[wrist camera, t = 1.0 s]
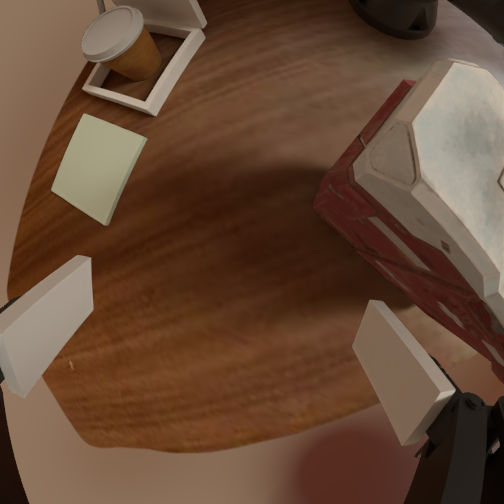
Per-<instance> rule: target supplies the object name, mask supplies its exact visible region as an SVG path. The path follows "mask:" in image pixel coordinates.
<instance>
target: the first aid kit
mask: <svg viewBox="0 0 504 504" xmlns="http://www.w3.org/2000/svg"><path fill="white" fill-rule="evenodd" d="M313 209H314V210H315V211H316V212H317V213H318V214H319V215H320V216H321V217H322V218H323V219H324V220H325V221H326V222H327V223H328V224H329V225H331V226H332V227H333V228H334V229H335V230H336V231H337V232H339V233H340V234H341V235H342V236H343V237H344V238H345V239H347V240H348V241H349V242H350V243H351V244H352V245H353V246H354V247H355V249H354V250H355V251H356V252H357V253H358V254H360V255H361V256H362V257H363V258H364V259H365V260H366V261H367V262H368V263H369V264H370V265H372V266H373V267H374V268H375V269H376V270H377V271H378V272H379V273H380V274H381V275H382V276H383V277H384V278H385V279H386V280H388V281H389V282H391V283H393V284H394V285H396V286H397V287H398V288H399V289H400V290H401V291H402V292H403V293H404V294H405V295H406V296H407V297H408V298H409V299H410V300H411V301H412V302H413V303H414V304H415V305H416V306H418V307H419V308H420V309H421V310H422V311H423V312H424V313H426V314H427V315H428V316H429V317H431V318H432V319H434V320H435V321H436V322H438V323H439V324H441V325H442V326H443V327H445V328H446V329H448V330H449V331H450V332H452V333H453V334H454V335H456V336H457V337H459V338H460V339H461V340H463V341H464V342H465V343H467V344H468V345H469V346H471V347H472V348H473V349H475V350H476V351H477V352H479V353H480V354H482V355H483V356H484V357H485V358H487V359H488V360H489V361H491V363H492V371H493V372H494V374H495V375H496V376H497V377H498V379H499V380H500V381H501V382H502V383H503V384H504V88H503V87H502V86H501V85H500V84H499V83H498V82H497V80H496V79H495V78H494V77H493V76H492V75H491V74H490V73H489V72H488V71H487V70H484V69H481V68H480V67H479V66H478V65H476V64H474V63H470V62H466V61H462V60H457V59H452V58H444V59H442V60H436V61H435V62H434V63H433V64H432V65H431V67H430V68H429V69H428V70H427V71H426V72H425V73H424V75H423V76H422V77H421V78H420V79H419V80H418V81H417V82H416V81H411V80H404V79H403V81H402V82H401V83H400V84H399V86H398V87H397V88H396V89H395V91H394V92H393V93H392V94H391V95H390V97H389V98H388V99H387V100H386V102H385V103H384V104H383V105H382V107H381V108H380V109H379V110H378V111H377V113H376V114H375V115H374V116H373V118H372V119H371V120H370V121H369V123H368V124H367V125H366V126H365V127H364V129H363V130H362V131H361V132H360V134H359V135H358V136H357V137H356V138H355V140H354V141H353V142H352V143H351V145H350V146H349V147H348V148H347V149H346V151H345V152H344V153H343V154H342V156H341V157H340V158H339V159H338V160H337V162H336V163H335V164H334V165H333V166H332V168H331V169H330V170H329V171H328V173H327V174H326V175H325V177H324V178H323V179H322V181H321V182H320V190H319V192H318V193H317V195H316V196H315V200H314V201H313Z"/></svg>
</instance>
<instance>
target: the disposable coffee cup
mask: <svg viewBox="0 0 504 504" xmlns="http://www.w3.org/2000/svg"><path fill="white" fill-rule="evenodd" d="M81 48H82V51H83V54H84V56H85V58H86V59H87V60H88V61H91V62H99V63H101V64H102V65H104V66H107V67H108V68H110V69H112V70H114V71H116V72H119V73H120V74H122V75H124V76H126V77H128V78H130V79H131V80H133V81H142V80H145V79H148V78H149V77H151V76H152V75H153V74H155V72H156V71H157V70H158V69H159V67H160V65H161V62H162V56H161V54H160V52H159V50H158V48H157V47H156V45H155V43H154V41H153V39H152V37H151V35H150V34H149V32H148V30H147V28H146V26H145V24H144V22H143V15H142V13H141V12H140V11H139V10H138V9H136V8H132V7H130V6H125V5H123V6H117V7H114V8H111V9H110V10H107V11H105V12H104V13H102V14H101V15H100V16H98V17H97V18H96V19H95V20H94V21H93V22H92V23H91V24H90V26H89V27H88V28H87V30H86V31H85V33H84V35H83V37H82V41H81Z"/></svg>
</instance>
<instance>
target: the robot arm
mask: <svg viewBox="0 0 504 504" xmlns="http://www.w3.org/2000/svg"><path fill="white" fill-rule="evenodd" d="M447 1H449V2H450V3H452V4H453V5H454V6H456V7H457V8H458V9H460V10H461V11H462V12H464V13H465V14H466V15H468V16H469V17H470V18H471V19H473V20H474V21H475V22H476V23H478V24H479V25H480V26H481V27H482V28H484V29H485V30H486V31H487V32H488V33H489V34H490V35H492V36H493V39H494V40H495V41H496V42H497V43H499V44H501V45H502V46H503V47H504V0H447ZM350 3H351V5H352V7H353V9H354V10H355V11H356V13H357V14H358V15H359V16H360V17H361V18H362V19H363V20H365V21H366V22H367V23H369V24H370V25H372V26H373V27H375V28H376V29H378V30H380V31H382V32H384V33H386V34H389V35H392V36H395V37H398V38H402V39H410V40H416V39H421V38H424V37H426V36H427V35H429V33H430V32H431V31H432V29H433V28H434V26H435V24H436V18H437V7H438V0H350ZM93 310H94V309H93V295H92V276H91V257H86V256H81V255H77V256H75V257H74V258H72V259H71V260H70V261H68V262H67V263H65V264H64V265H63V266H61V267H60V268H58V269H57V270H56V271H54V272H53V273H52V274H50V275H49V276H48V277H46V278H45V279H44V280H42V281H41V282H40V283H38V284H37V285H36V286H34V287H33V288H32V289H31V290H29V291H28V292H27V293H25V294H24V295H21V296H19V297H16V298H14V299H12V300H10V301H9V302H8V303H7V304H6V305H4V307H2V308H1V309H0V384H1V382H2V381H3V380H4V379H5V381H6V384H7V386H8V388H9V391H11V392H13V393H14V394H16V395H18V396H21V397H23V398H26V397H27V395H28V394H29V392H30V391H31V389H32V388H33V387H34V385H35V384H36V382H37V381H38V380H39V378H40V377H41V375H42V374H43V373H44V371H45V370H46V369H47V367H48V366H49V365H50V363H51V362H52V361H53V359H54V358H55V357H56V355H57V354H58V353H59V352H60V350H61V349H62V348H63V346H64V345H65V344H66V343H67V341H68V340H69V339H70V338H71V336H72V335H73V334H74V333H75V331H76V330H77V329H78V328H79V326H80V325H81V324H82V323H83V322H84V320H85V319H86V318H87V317H88V316H89V314H90V313H91V312H92V311H93ZM352 348H353V350H354V352H355V354H356V356H357V357H358V359H359V361H360V363H361V365H362V367H363V369H364V371H365V373H366V375H367V377H368V378H369V380H370V382H371V384H372V386H373V388H374V390H375V392H376V394H377V396H378V398H379V400H380V402H381V404H382V406H383V408H384V410H385V412H386V414H387V416H388V418H389V420H390V422H391V424H392V426H393V428H394V430H395V432H396V434H397V437H398V439H399V441H400V443H401V445H402V446H404V445H409V444H414V443H417V442H418V441H419V440H420V439H421V438H422V436H423V435H424V434H425V433H427V435H428V437H429V439H428V440H427V442H426V443H425V444H424V445H423V446H422V448H421V449H420V450H419V451H418V452H417V453H416V455H415V456H414V457H416V458H417V456H418V455H419V454H420V453H422V454H421V458H420V461H419V464H418V467H417V470H416V473H415V475H414V478H413V481H412V484H411V486H410V489H409V492H408V494H407V497H406V499H405V501H404V504H504V396H501V397H500V398H499V399H498V400H497V402H496V403H495V405H494V406H488V405H486V404H485V403H484V401H483V400H482V399H481V398H480V397H479V396H477V395H475V394H473V393H469V392H467V393H462V392H461V391H460V389H459V388H458V387H457V386H456V384H455V383H454V382H453V381H452V379H451V378H450V377H449V375H448V374H446V372H445V370H444V369H443V368H441V365H440V364H439V363H438V362H437V360H436V359H435V358H433V357H432V356H431V355H429V354H428V353H427V352H426V351H425V350H424V349H423V348H422V346H421V345H420V344H419V343H418V342H417V340H416V339H415V338H414V337H413V336H412V334H411V333H410V332H409V331H408V330H407V329H406V327H405V326H404V325H403V324H402V323H401V321H400V320H399V319H398V318H397V317H396V316H395V315H394V313H393V312H392V311H391V310H390V309H389V308H388V307H387V305H386V304H385V303H384V302H383V301H378V300H369V302H368V305H367V308H366V311H365V314H364V316H363V319H362V322H361V324H360V327H359V330H358V332H357V335H356V337H355V340H354V342H353V345H352ZM498 441H499V442H500V447H499V448H498V449H497V450H496V451H495V452H494V453H492V448H493V447H494V446H495V444H496V443H497V442H498ZM0 504H29V502H28V499H27V496H26V493H25V490H24V488H23V484H22V481H21V478H20V475H19V471H18V468H17V464H16V461H15V457H14V453H13V449H12V445H11V440H10V436H9V430H8V425H7V420H6V413H5V407H4V399H3V392H2V389H1V386H0Z"/></svg>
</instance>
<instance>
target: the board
mask: <svg viewBox="0 0 504 504" xmlns="http://www.w3.org/2000/svg"><path fill="white" fill-rule="evenodd" d="M146 140H147V138H145V137H143V136H140V135H138V134H136V133H133V132H131V131H128V130H126V129H123V128H121V127H118V126H116V125H113V124H111V123H108V122H106V121H103V120H100V119H98V118H95V117H93V116H90V115H87V114H85V113H84V114H83V116H82V118H81V120H80V122H79V124H78V126H77V128H76V130H75V132H74V134H73V137H72V139H71V141H70V143H69V146H68V148H67V150H66V153H65V155H64V157H63V160H62V162H61V165H60V167H59V170H58V172H57V175H56V178H55V180H54V183H53V186H52V189H51V191H53V192H54V193H56V194H57V195H59V196H60V197H62V198H63V199H65V200H66V201H68V202H69V203H71V204H72V205H74V206H75V207H77V208H78V209H80V210H81V211H83V212H84V213H86V214H88V215H89V216H91V217H92V218H94V219H95V220H97V221H98V222H100V223H102V224H103V225H109V223H110V220H111V218H112V215H113V213H114V210H115V208H116V205H117V203H118V200H119V198H120V196H121V193H122V191H123V189H124V186H125V184H126V182H127V180H128V178H129V175H130V173H131V171H132V169H133V167H134V165H135V163H136V160H137V158H138V156H139V154H140V152H141V150H142V148H143V146H144V144H145V142H146Z"/></svg>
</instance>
